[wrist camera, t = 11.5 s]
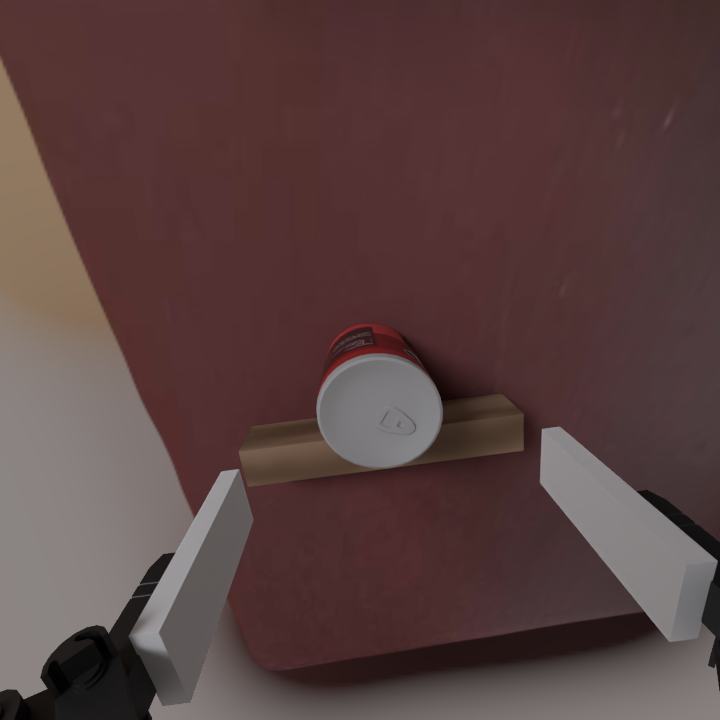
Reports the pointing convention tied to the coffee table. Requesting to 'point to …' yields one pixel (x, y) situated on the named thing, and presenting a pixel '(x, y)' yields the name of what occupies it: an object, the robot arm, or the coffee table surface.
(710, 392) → the coffee table surface
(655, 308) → the coffee table surface
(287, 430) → the board
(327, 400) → the canned food
